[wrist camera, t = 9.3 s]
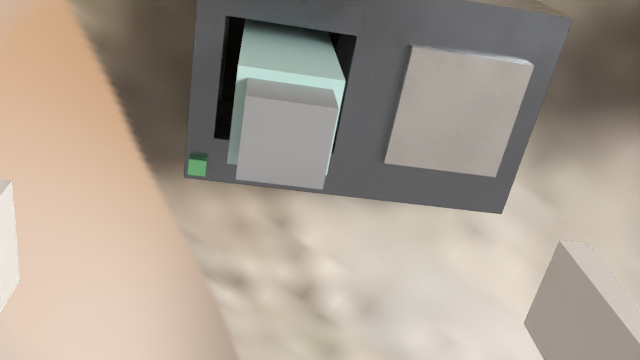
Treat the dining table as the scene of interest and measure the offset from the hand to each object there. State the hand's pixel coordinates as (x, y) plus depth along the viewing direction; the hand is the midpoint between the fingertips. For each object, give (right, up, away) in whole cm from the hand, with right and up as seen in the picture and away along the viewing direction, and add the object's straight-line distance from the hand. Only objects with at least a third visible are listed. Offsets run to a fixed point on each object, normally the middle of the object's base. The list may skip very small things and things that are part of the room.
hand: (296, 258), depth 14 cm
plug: (-1, +8, +16) cm, 18 cm away
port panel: (+2, +8, +17) cm, 19 cm away
